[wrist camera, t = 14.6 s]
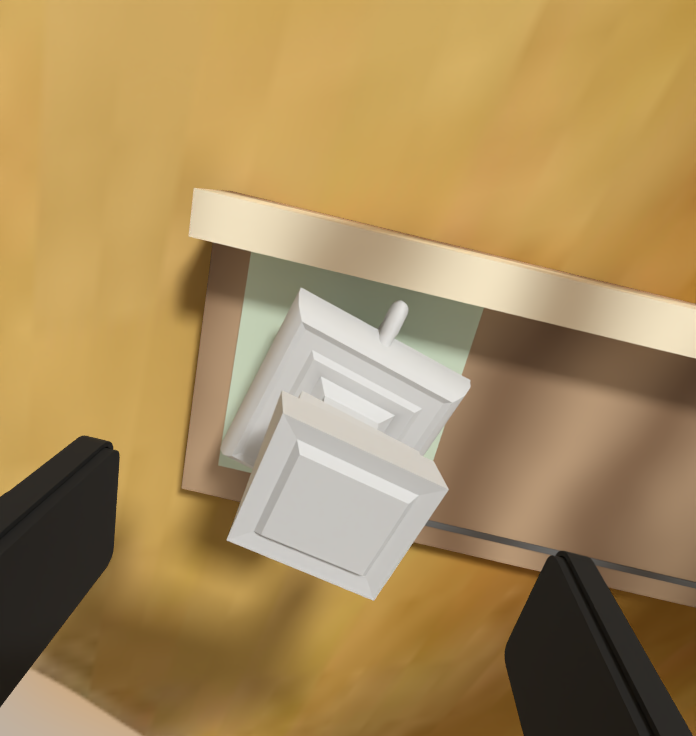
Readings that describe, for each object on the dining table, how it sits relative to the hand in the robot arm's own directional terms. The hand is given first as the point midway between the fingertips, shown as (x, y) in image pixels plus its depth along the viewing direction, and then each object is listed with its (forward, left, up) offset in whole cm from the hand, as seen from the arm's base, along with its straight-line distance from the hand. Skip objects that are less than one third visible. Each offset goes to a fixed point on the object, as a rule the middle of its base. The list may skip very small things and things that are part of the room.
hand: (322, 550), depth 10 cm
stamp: (0, 0, -10) cm, 10 cm away
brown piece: (-7, 0, -11) cm, 13 cm away
